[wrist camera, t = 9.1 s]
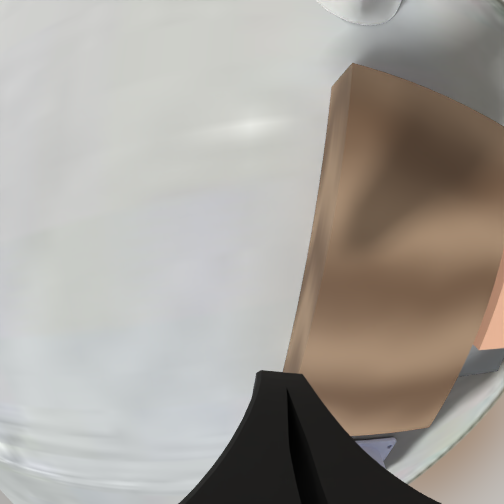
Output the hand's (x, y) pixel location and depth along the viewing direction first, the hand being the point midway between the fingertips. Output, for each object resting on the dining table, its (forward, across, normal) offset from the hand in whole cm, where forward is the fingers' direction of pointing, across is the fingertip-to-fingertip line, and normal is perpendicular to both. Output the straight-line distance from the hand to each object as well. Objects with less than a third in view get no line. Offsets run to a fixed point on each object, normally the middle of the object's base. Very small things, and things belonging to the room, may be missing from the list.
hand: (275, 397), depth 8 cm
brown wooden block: (+9, -8, -2) cm, 12 cm away
